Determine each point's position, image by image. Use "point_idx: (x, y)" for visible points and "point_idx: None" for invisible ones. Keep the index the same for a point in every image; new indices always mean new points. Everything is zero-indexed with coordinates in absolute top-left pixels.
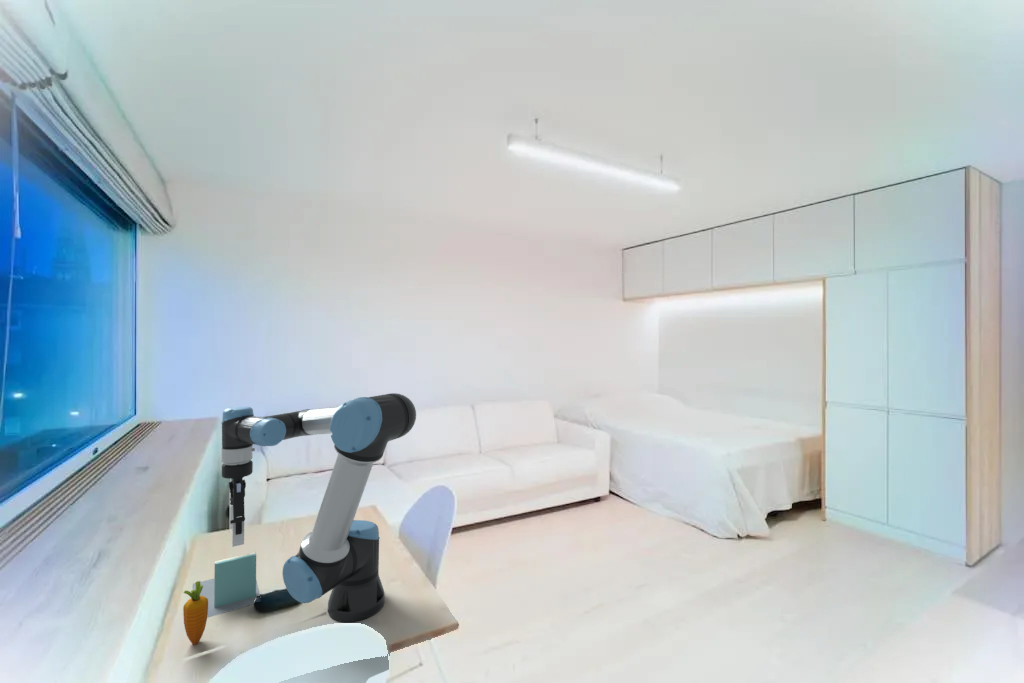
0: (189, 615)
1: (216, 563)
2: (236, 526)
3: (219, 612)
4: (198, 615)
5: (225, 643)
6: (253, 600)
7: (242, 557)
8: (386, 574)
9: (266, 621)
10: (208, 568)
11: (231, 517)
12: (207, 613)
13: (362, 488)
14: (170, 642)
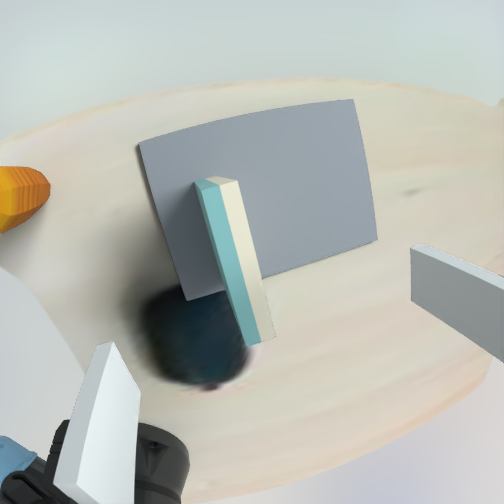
0: None
1: (209, 196)
2: (46, 476)
3: (162, 203)
4: None
5: (40, 254)
6: (199, 279)
7: (237, 299)
8: (235, 476)
9: (104, 323)
10: (418, 128)
11: (464, 278)
12: (20, 223)
13: None
14: (76, 122)
